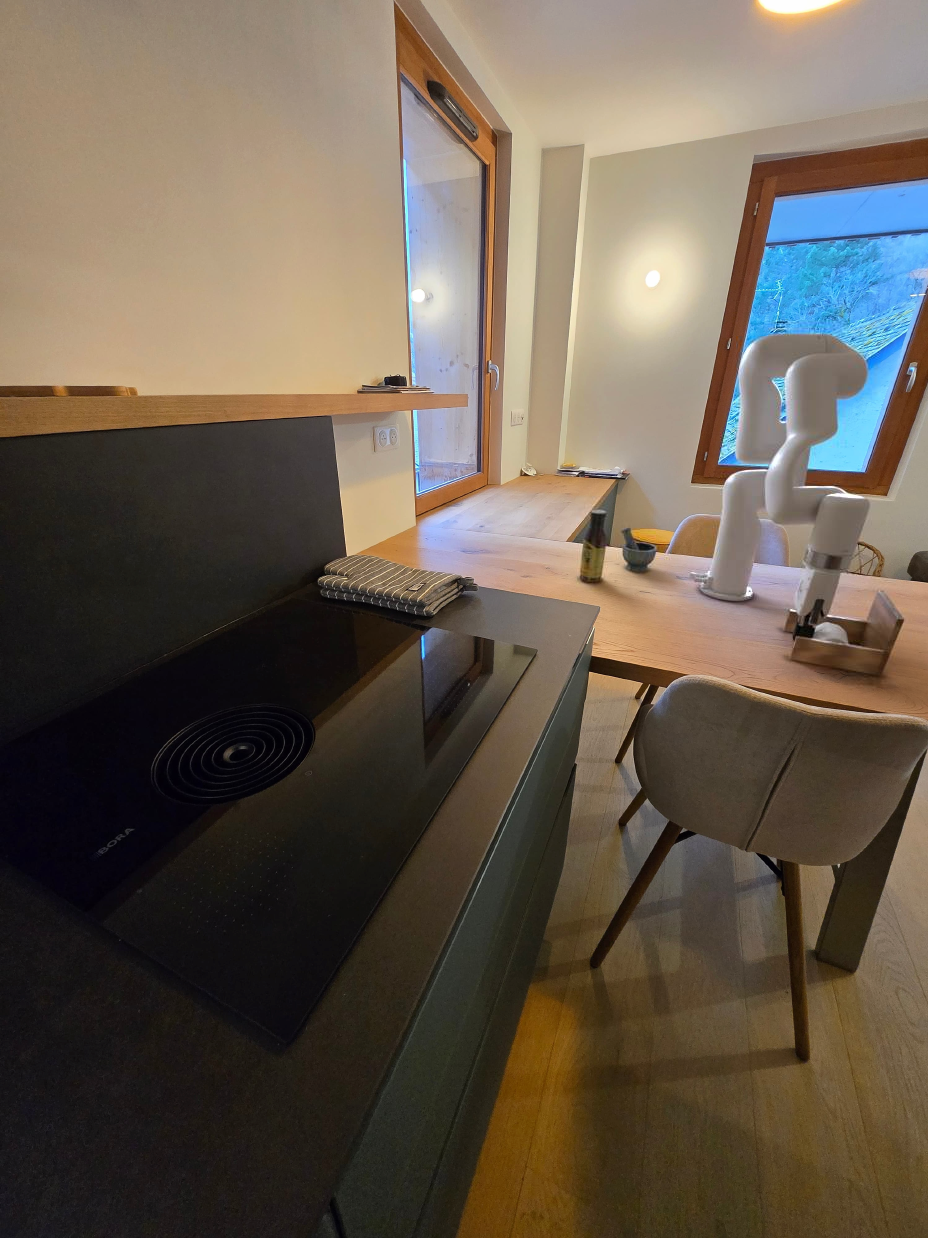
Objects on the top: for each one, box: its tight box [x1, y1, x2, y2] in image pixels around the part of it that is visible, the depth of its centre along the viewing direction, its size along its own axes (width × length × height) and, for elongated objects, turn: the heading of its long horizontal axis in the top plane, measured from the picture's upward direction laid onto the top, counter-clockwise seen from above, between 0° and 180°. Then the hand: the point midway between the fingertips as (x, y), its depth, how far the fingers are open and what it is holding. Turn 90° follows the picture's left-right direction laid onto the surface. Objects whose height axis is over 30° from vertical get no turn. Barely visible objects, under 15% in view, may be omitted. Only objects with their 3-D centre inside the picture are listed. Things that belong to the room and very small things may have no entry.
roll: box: [813, 622, 850, 645], centre depth 102 cm, size 6×12×6 cm, turn 151°
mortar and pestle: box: [620, 526, 658, 573], centre depth 147 cm, size 11×9×12 cm
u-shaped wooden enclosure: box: [783, 589, 905, 677], centre depth 100 cm, size 15×15×12 cm
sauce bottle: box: [579, 509, 608, 583], centre depth 137 cm, size 6×6×20 cm
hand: (800, 641), depth 104 cm, fingers closed
